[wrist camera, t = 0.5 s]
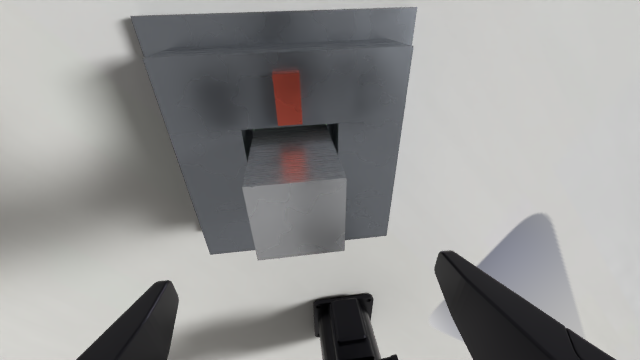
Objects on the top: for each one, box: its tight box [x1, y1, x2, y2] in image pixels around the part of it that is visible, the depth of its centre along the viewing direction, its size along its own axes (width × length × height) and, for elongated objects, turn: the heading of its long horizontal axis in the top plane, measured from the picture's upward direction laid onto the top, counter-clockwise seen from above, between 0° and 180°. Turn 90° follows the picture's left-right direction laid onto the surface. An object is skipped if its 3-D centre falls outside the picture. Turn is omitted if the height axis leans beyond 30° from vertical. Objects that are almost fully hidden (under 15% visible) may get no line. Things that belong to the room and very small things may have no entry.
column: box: [242, 124, 347, 260], centre depth 15 cm, size 4×4×8 cm
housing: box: [130, 7, 417, 255], centre depth 17 cm, size 15×15×5 cm
